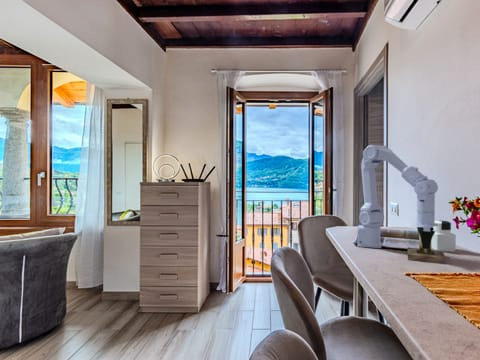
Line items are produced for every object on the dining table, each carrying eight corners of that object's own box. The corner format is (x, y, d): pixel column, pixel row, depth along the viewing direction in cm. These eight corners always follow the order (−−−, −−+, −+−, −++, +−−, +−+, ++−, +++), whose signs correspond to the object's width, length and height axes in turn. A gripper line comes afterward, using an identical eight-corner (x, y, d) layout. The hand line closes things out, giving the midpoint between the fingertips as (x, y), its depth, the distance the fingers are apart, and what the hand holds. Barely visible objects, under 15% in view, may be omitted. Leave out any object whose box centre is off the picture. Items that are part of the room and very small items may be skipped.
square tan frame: (407, 259, 121) (407, 254, 121) (407, 252, 132) (407, 247, 132) (445, 263, 116) (445, 258, 115) (442, 255, 126) (442, 250, 126)
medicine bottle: (446, 247, 139) (446, 219, 139) (455, 251, 132) (456, 222, 131) (428, 247, 140) (429, 219, 139) (437, 251, 132) (437, 222, 132)
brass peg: (419, 252, 123) (419, 233, 122) (419, 249, 126) (418, 232, 126) (432, 253, 121) (431, 234, 121) (430, 250, 124) (430, 232, 124)
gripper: (440, 214, 115) (439, 252, 115) (436, 209, 128) (436, 244, 128) (417, 213, 118) (417, 250, 118) (415, 209, 131) (415, 242, 131)
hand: (425, 247), depth 123 cm, fingers closed on brass peg, 4 cm apart
